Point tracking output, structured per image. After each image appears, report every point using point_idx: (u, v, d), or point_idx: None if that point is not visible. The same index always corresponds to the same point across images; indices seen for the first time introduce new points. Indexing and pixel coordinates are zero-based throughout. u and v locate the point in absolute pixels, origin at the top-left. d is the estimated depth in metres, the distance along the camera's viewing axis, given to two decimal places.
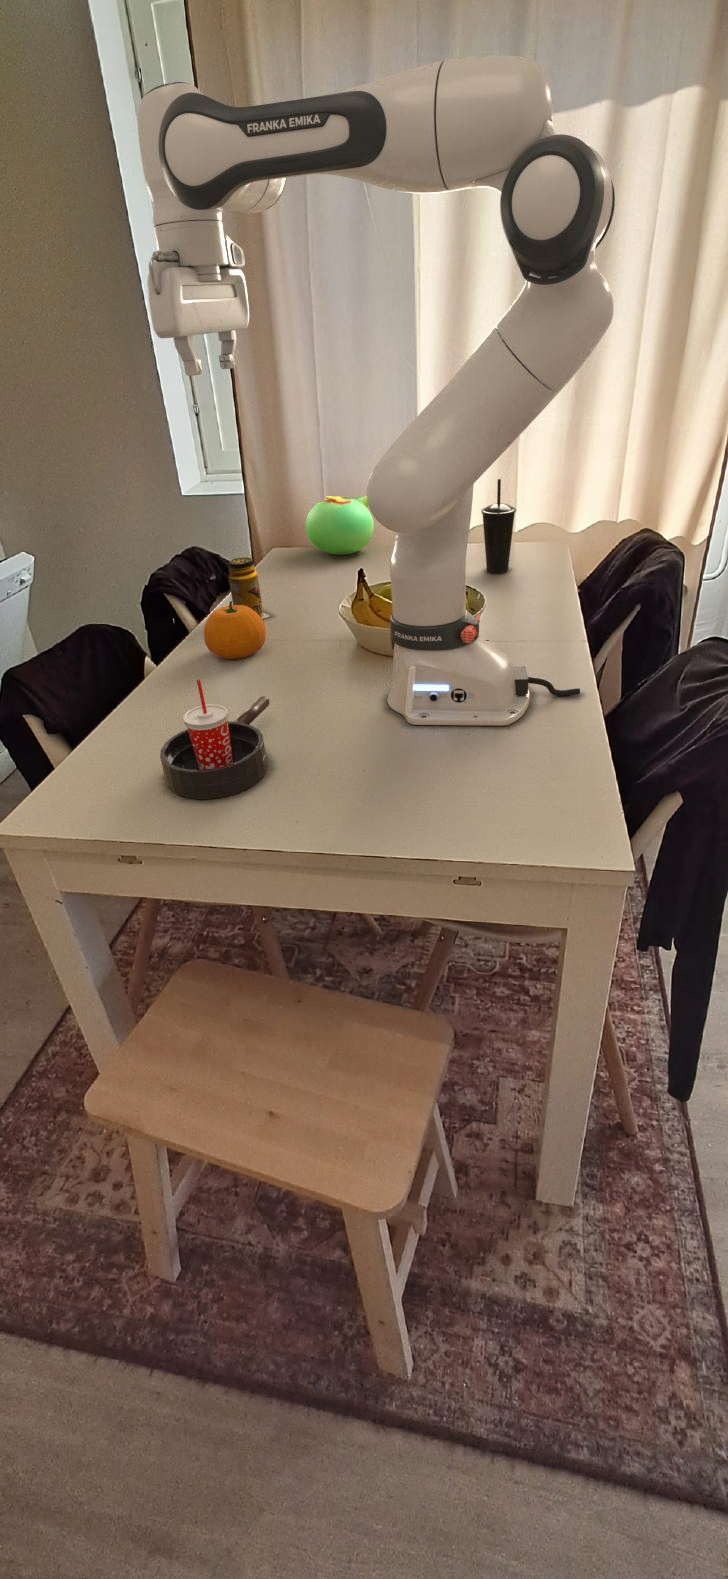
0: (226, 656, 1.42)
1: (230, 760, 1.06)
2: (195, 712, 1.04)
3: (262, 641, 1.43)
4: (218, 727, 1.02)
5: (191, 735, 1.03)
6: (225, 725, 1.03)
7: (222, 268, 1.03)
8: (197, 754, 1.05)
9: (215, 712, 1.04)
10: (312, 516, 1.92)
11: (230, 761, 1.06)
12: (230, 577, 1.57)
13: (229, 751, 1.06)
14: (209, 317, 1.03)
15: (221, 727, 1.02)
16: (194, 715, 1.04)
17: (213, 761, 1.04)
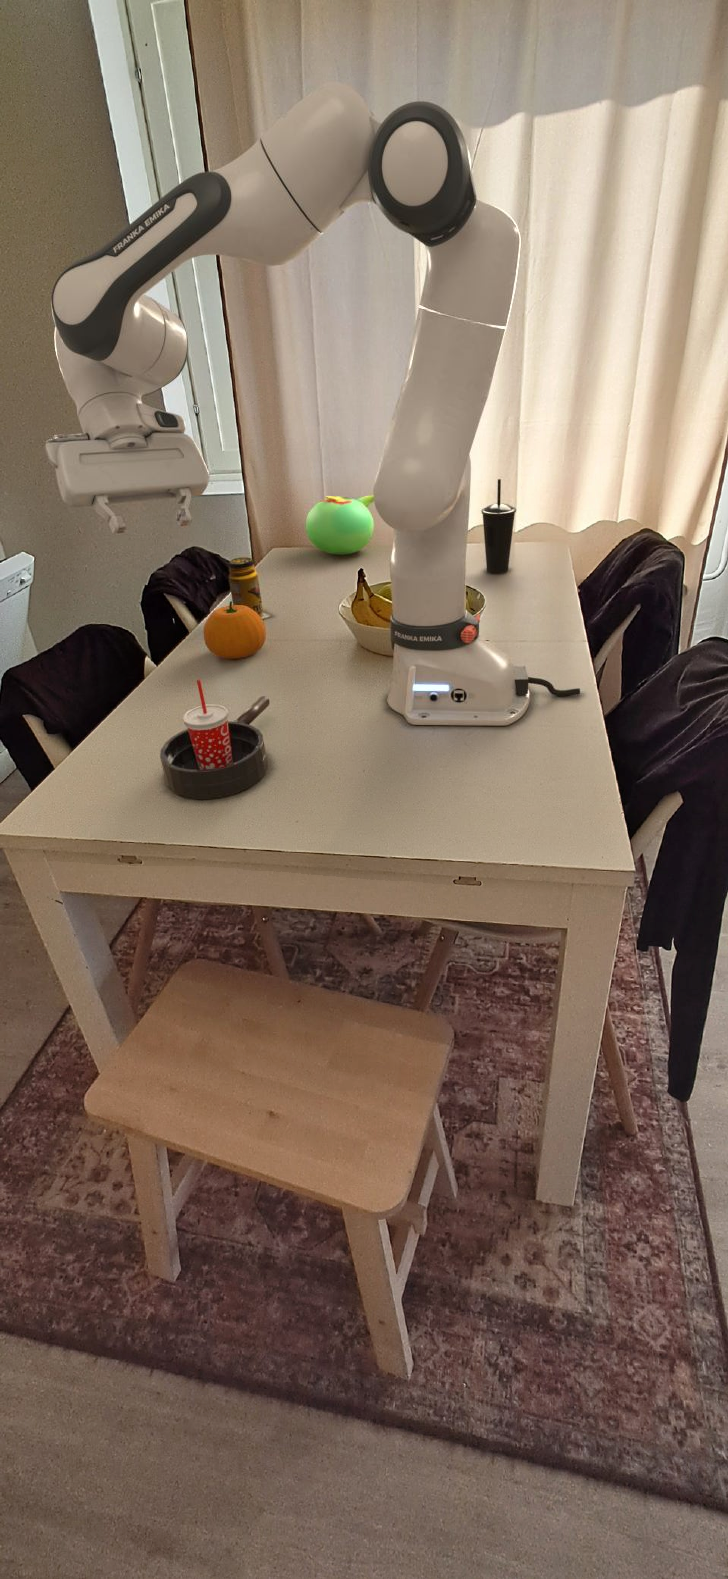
0: (226, 656, 1.42)
1: (230, 760, 1.06)
2: (195, 712, 1.04)
3: (262, 641, 1.43)
4: (218, 727, 1.02)
5: (191, 735, 1.03)
6: (225, 725, 1.03)
7: (150, 435, 1.04)
8: (197, 754, 1.05)
9: (215, 712, 1.04)
10: (312, 516, 1.92)
11: (230, 761, 1.06)
12: (230, 577, 1.57)
13: (229, 751, 1.06)
14: (129, 476, 1.01)
15: (221, 727, 1.02)
16: (194, 715, 1.04)
17: (213, 761, 1.04)
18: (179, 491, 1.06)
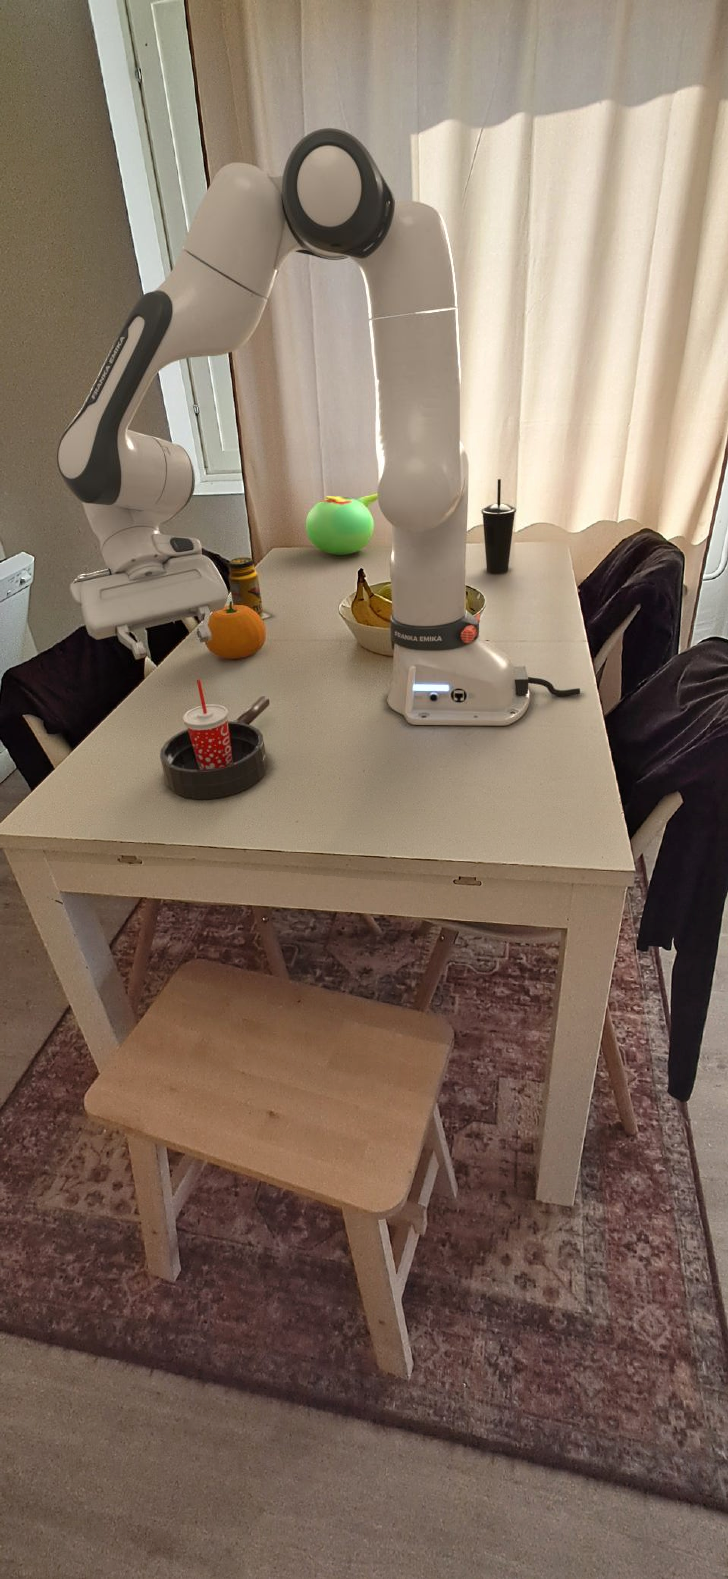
0: (226, 656, 1.42)
1: (230, 760, 1.06)
2: (195, 712, 1.04)
3: (262, 641, 1.43)
4: (218, 727, 1.02)
5: (191, 735, 1.03)
6: (225, 725, 1.03)
7: (168, 561, 1.08)
8: (197, 754, 1.05)
9: (215, 712, 1.04)
10: (312, 516, 1.92)
11: (230, 761, 1.06)
12: (230, 577, 1.57)
13: (229, 751, 1.06)
14: (148, 603, 1.06)
15: (221, 727, 1.02)
16: (194, 715, 1.04)
17: (213, 761, 1.04)
18: (198, 610, 1.09)
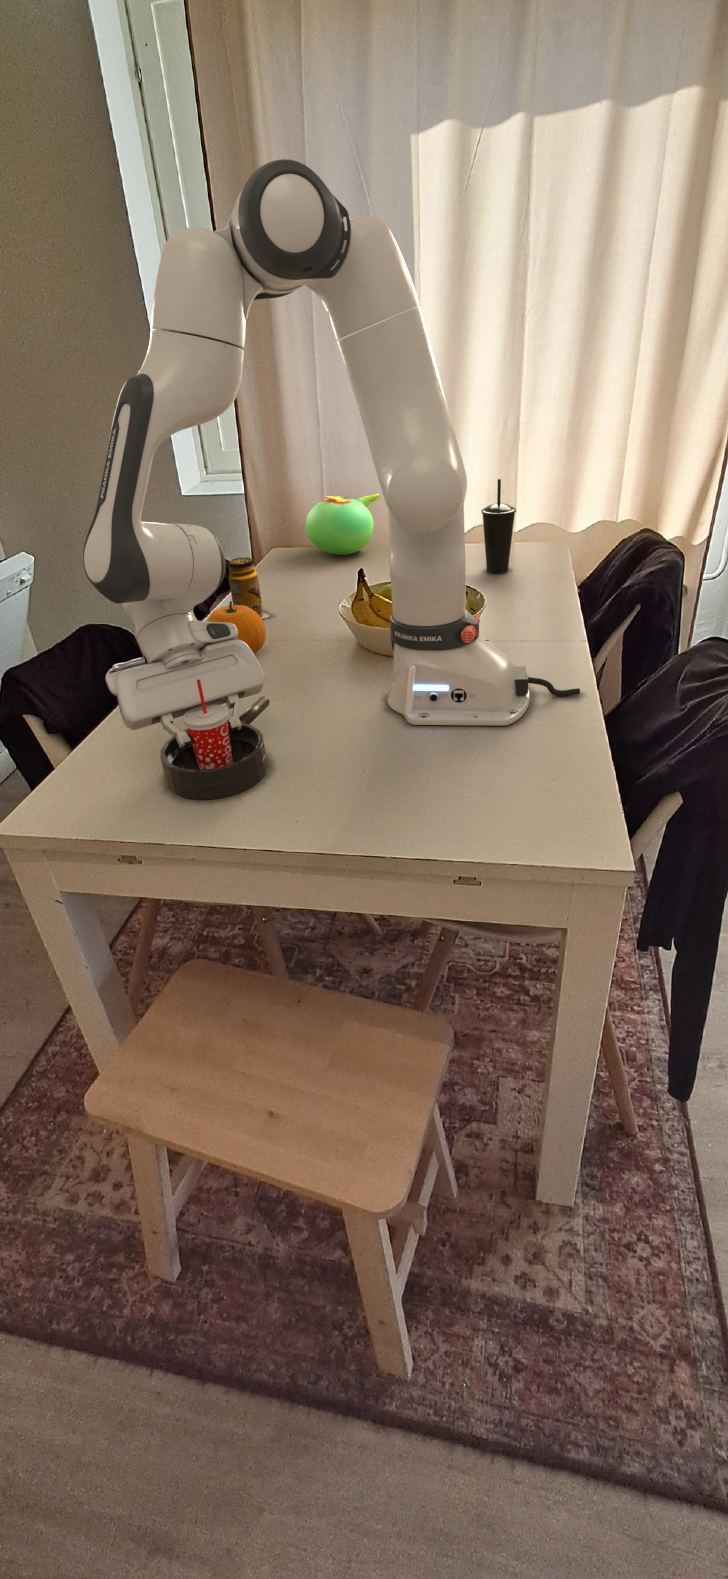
0: None
1: (230, 760, 1.06)
2: (195, 712, 1.04)
3: (262, 641, 1.43)
4: (218, 727, 1.02)
5: (191, 735, 1.03)
6: (225, 725, 1.03)
7: (204, 647, 1.06)
8: (197, 754, 1.05)
9: (215, 712, 1.04)
10: (312, 516, 1.92)
11: (230, 761, 1.06)
12: (230, 577, 1.57)
13: (229, 751, 1.06)
14: (185, 693, 1.03)
15: (221, 727, 1.02)
16: (194, 715, 1.04)
17: (213, 761, 1.04)
18: (228, 698, 1.06)
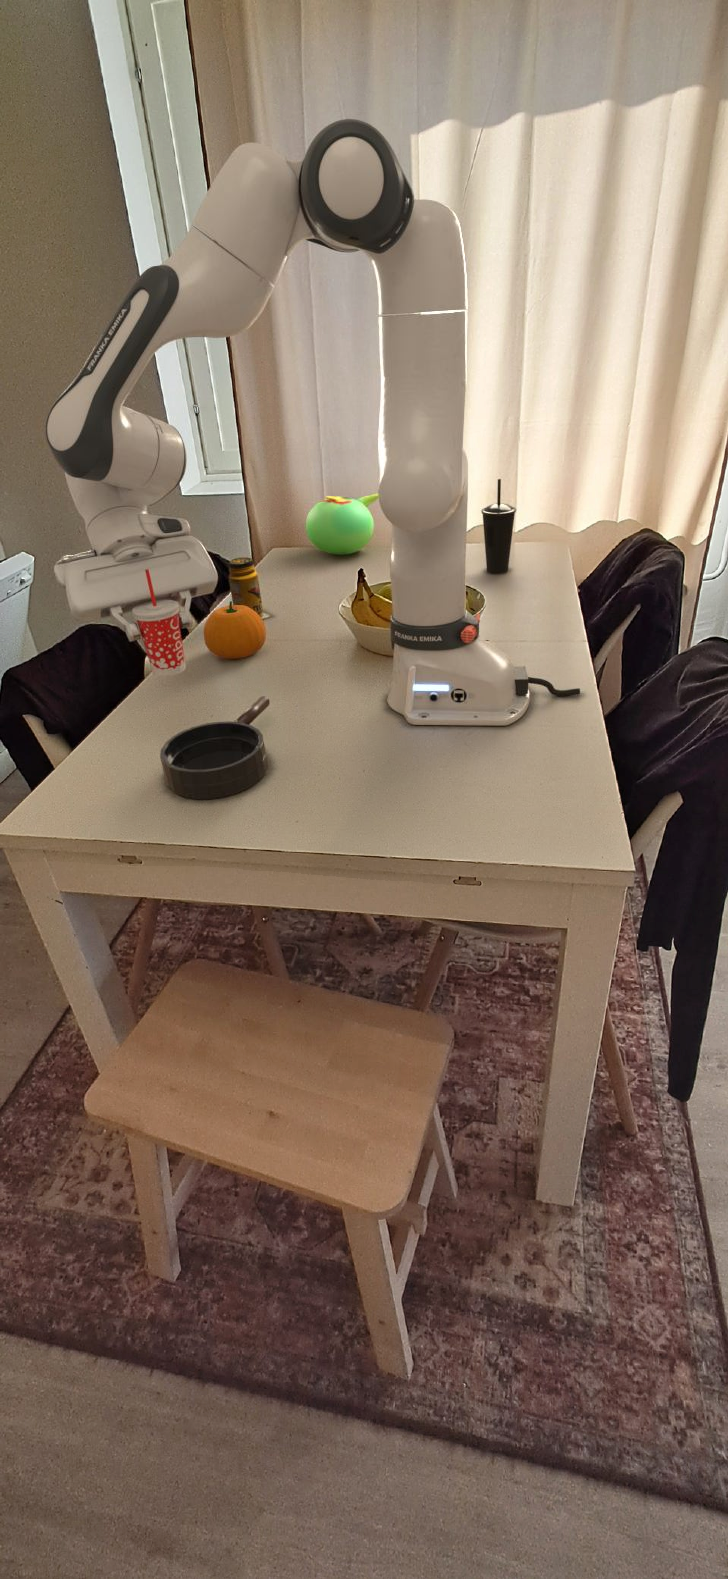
0: (226, 656, 1.42)
1: (181, 657, 1.05)
2: (145, 606, 1.03)
3: (262, 641, 1.43)
4: (167, 619, 1.01)
5: (140, 628, 1.02)
6: (175, 618, 1.02)
7: (155, 542, 1.04)
8: (147, 649, 1.03)
9: (165, 606, 1.03)
10: (312, 516, 1.92)
11: (181, 658, 1.05)
12: (230, 577, 1.57)
13: (180, 647, 1.05)
14: (135, 585, 1.02)
15: (170, 619, 1.01)
16: (144, 608, 1.02)
17: (163, 656, 1.03)
18: (179, 594, 1.05)
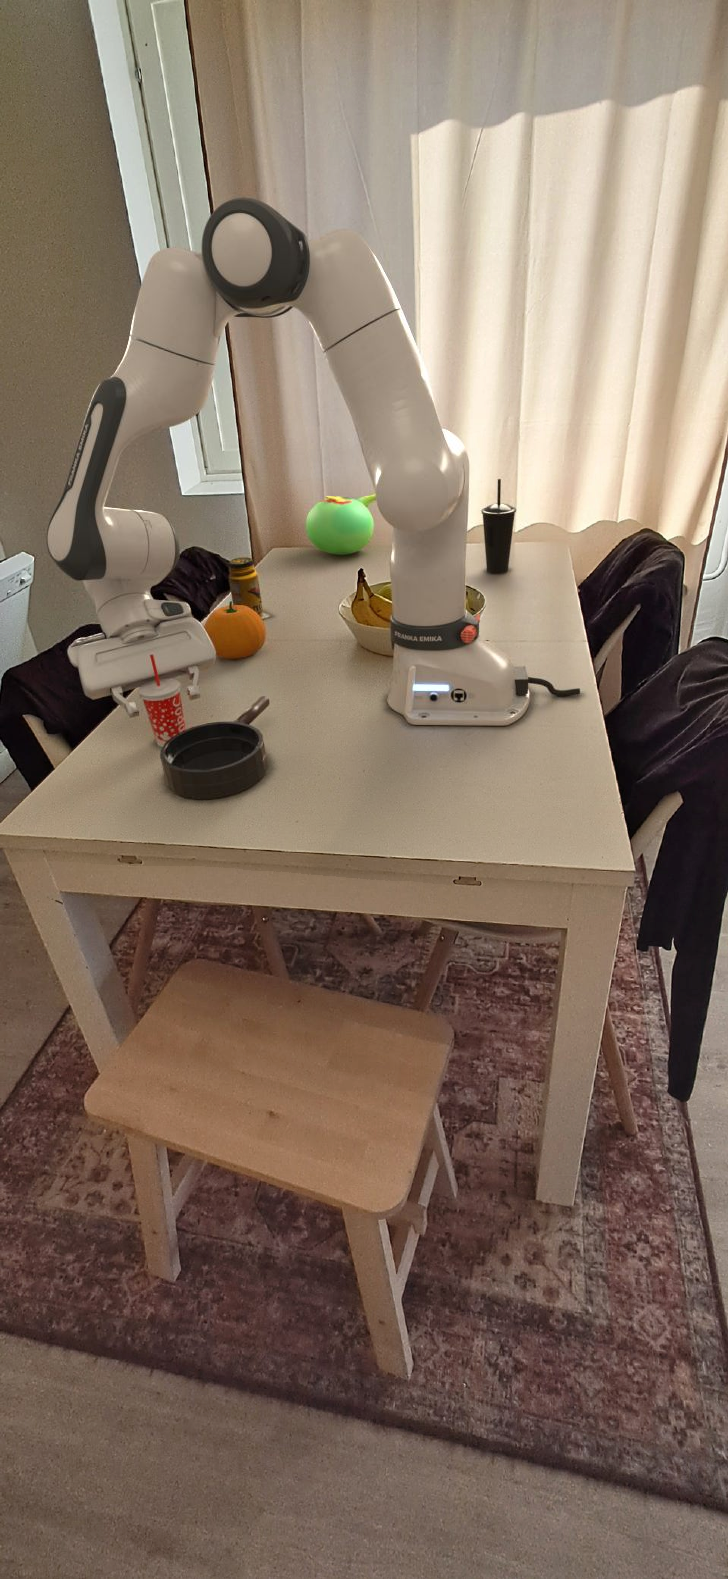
0: (226, 656, 1.42)
1: (183, 730, 1.16)
2: (150, 685, 1.14)
3: (262, 641, 1.43)
4: (170, 698, 1.12)
5: (146, 706, 1.13)
6: (177, 697, 1.13)
7: (159, 624, 1.15)
8: (152, 724, 1.14)
9: (168, 685, 1.14)
10: (312, 516, 1.92)
11: (183, 730, 1.16)
12: (230, 577, 1.57)
13: (182, 721, 1.15)
14: (141, 665, 1.13)
15: (173, 698, 1.12)
16: (149, 688, 1.13)
17: (166, 730, 1.14)
18: (188, 669, 1.16)
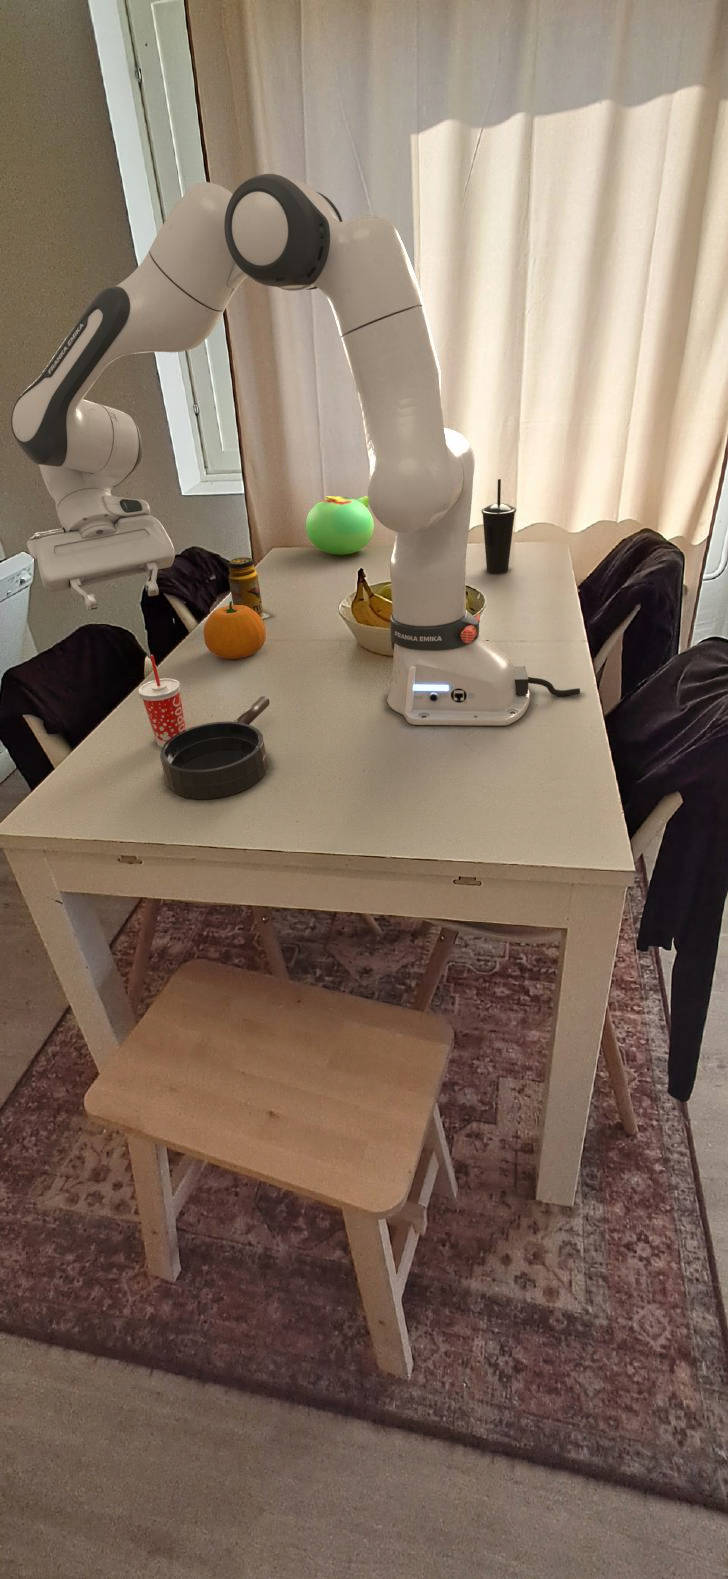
0: (226, 656, 1.42)
1: (183, 730, 1.16)
2: (150, 685, 1.14)
3: (262, 641, 1.43)
4: (170, 698, 1.12)
5: (146, 706, 1.13)
6: (177, 697, 1.13)
7: (118, 520, 1.17)
8: (152, 724, 1.14)
9: (168, 685, 1.14)
10: (312, 516, 1.92)
11: (183, 730, 1.16)
12: (230, 577, 1.57)
13: (182, 721, 1.15)
14: (99, 559, 1.15)
15: (173, 698, 1.12)
16: (149, 688, 1.13)
17: (166, 730, 1.14)
18: (147, 566, 1.18)
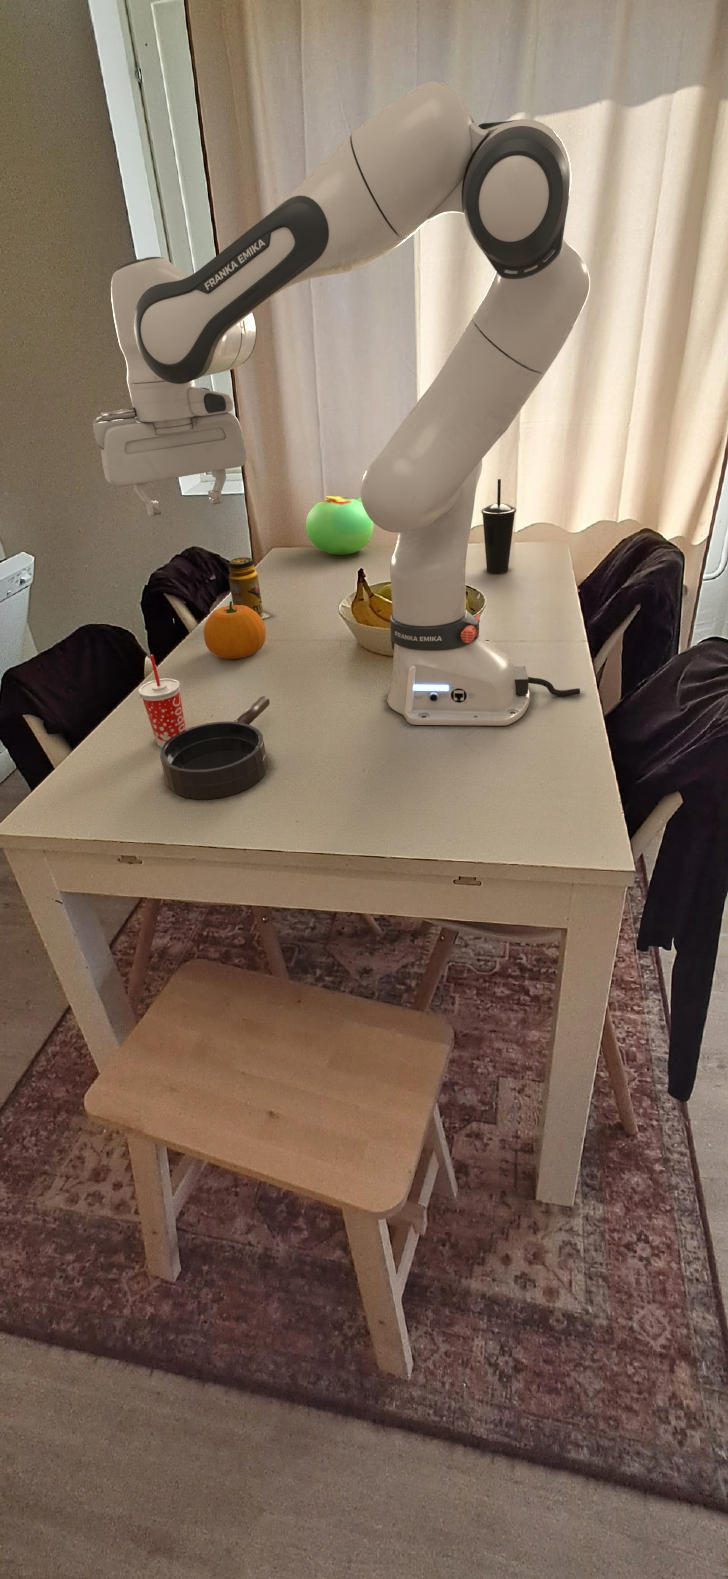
0: (226, 656, 1.42)
1: (183, 730, 1.16)
2: (150, 685, 1.14)
3: (262, 641, 1.43)
4: (170, 698, 1.12)
5: (146, 706, 1.13)
6: (177, 697, 1.13)
7: (196, 417, 1.05)
8: (152, 724, 1.14)
9: (168, 685, 1.14)
10: (312, 516, 1.92)
11: (183, 730, 1.16)
12: (230, 577, 1.57)
13: (182, 721, 1.15)
14: (171, 464, 1.06)
15: (173, 698, 1.12)
16: (149, 688, 1.13)
17: (166, 730, 1.14)
18: (215, 472, 1.11)
